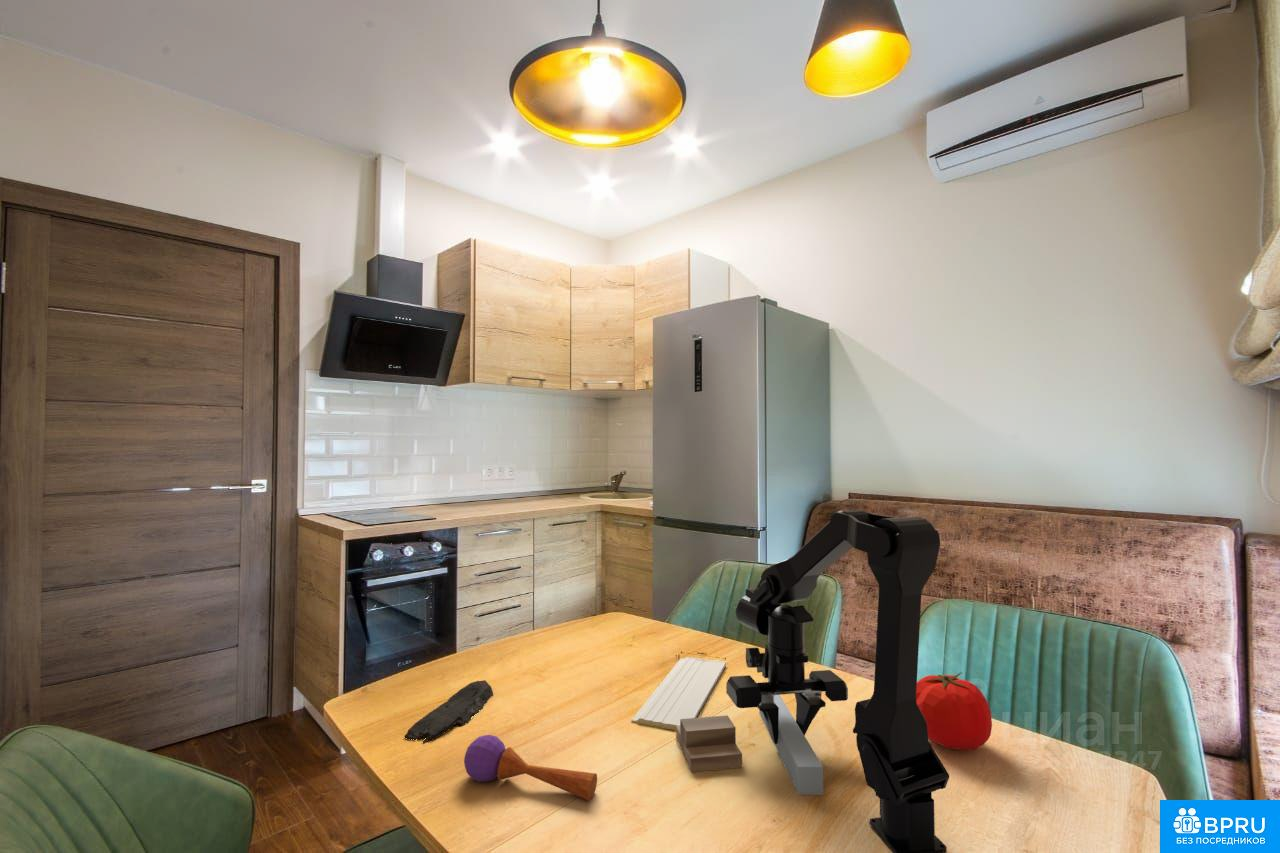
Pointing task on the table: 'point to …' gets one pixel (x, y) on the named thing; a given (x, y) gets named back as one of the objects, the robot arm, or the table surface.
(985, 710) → the tomato
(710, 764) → the ridge block
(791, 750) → the slate stick
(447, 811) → the table surface
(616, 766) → the table surface
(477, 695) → the wood
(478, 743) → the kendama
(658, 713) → the baseboard molding
